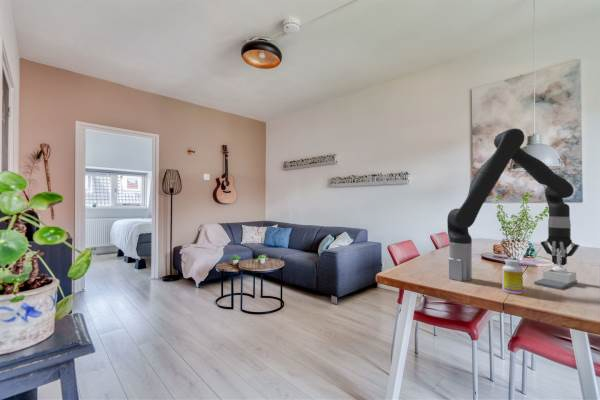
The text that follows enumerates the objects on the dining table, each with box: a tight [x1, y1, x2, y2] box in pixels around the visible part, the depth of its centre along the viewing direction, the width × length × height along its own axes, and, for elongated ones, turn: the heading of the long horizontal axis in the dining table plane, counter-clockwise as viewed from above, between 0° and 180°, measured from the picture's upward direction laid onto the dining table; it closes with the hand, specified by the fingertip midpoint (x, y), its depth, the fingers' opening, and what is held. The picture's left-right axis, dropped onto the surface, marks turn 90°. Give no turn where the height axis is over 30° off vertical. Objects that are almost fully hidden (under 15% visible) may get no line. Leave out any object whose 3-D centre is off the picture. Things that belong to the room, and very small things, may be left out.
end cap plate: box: [533, 268, 578, 291], centre depth 128 cm, size 20×9×5 cm, turn 122°
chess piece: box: [552, 248, 568, 271], centre depth 130 cm, size 5×5×10 cm
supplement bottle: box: [501, 258, 524, 295], centre depth 116 cm, size 7×7×13 cm
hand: (559, 264), depth 130 cm, fingers closed on chess piece
